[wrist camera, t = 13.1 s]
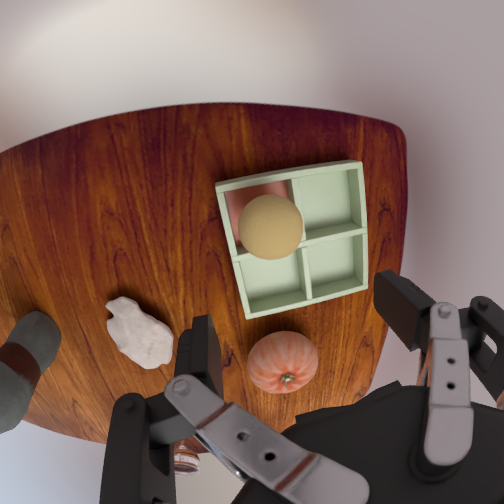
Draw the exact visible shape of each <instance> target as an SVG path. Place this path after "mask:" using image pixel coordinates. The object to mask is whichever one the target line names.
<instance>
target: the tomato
mask: <svg viewBox="0 0 504 504" xmlns="http://www.w3.org/2000/svg"><path fill="white" fill-rule="evenodd" d="M317 366H318V354H317V350H316V347H315V346H314V344H313V343H312V342H311V341H310V340H309V339H308V338H306V337H305V336H304V335H302V334H299V333H296V332H292V331H279V332H275V333H271V334H269V335H267V336H265V337H263V338H262V339H260V340H259V341H258V342H257V343H256V344H255V345H254V346H253V347H252V349H251V351H250V353H249V355H248V359H247V371H248V374H249V377H250V378H251V380H252V382H253V383H254V384H255V385H256V386H258V387H259V388H260V389H262V390H264V391H267V392H270V393H274V394H278V393H289V392H293V391H296V390H298V389H299V388H300V387H302V386H304V385H306V384H307V383H308V382H309V381H310V380H311V379H312V377H313V376H314V374H315V372H316V369H317Z"/></svg>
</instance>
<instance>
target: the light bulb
mask: <svg viewBox="0 0 504 504" xmlns="http://www.w3.org/2000/svg"><path fill="white" fill-rule="evenodd" d="M238 233H239V238H240V240H241V242H242V244H243V246H244V247H245V249H246V250H247V251H248V252H249V253H250V254H252V255H254V256H255V257H258V258H260V259H264V260H276V259H281V258H284V257H286V256H288V255H290V254H292V253H293V252H294V251H295V250H296V249H297V247H298V246H299V244H300V242H301V239H302V235H303V219H302V216H301V213H300V211H299V210H298V208H297V207H296V206H295V204H294V203H293V202H291V201H290V200H288V199H287V198H284V197H282V196H279V195H273V194H269V195H262V196H259V197H257V198H255V199H253V200H252V201H250V202H249V203H248V204H247V205H246V206H245V207H244V209H243V210H242V212H241V214H240V217H239V221H238Z"/></svg>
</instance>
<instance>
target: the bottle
mask: <svg viewBox="0 0 504 504" xmlns="http://www.w3.org/2000/svg"><path fill="white" fill-rule="evenodd" d="M60 342H61V334H60V331H59V329H58V327H57V325H56V324H55V322H54V321H53V320H52V319H51V318H50V317H49V316H47V315H46V314H44V313H42V312H40V311H33V312H30V313H29V314H27V315H25V316H24V317H23V318H21V319H20V320H19V321H18V322H17V324H16V325H15V327H14V328H13V330H12V332H11V333H10V335H9V337H8V339H7V341H6V342H5V343H4V345H3V346H2V347H1V348H0V434H1V433H4V432H6V431H9V430H12V429H13V428H15V427H16V426H17V425H18V424H19V423H20V421H21V420H22V418H23V417H24V415H25V413H26V412H27V409H28V406H29V403H30V400H31V397H32V395H33V393H34V390H35V388H36V385H37V383H38V381H39V379H40V376H41V375H42V374H43V373H44V372H45V370H46V369H47V368H48V367H49V365H50V364H51V363H52V362H53V360H54V359H55V357H56V354H57V352H58V350H59V346H60Z"/></svg>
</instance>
